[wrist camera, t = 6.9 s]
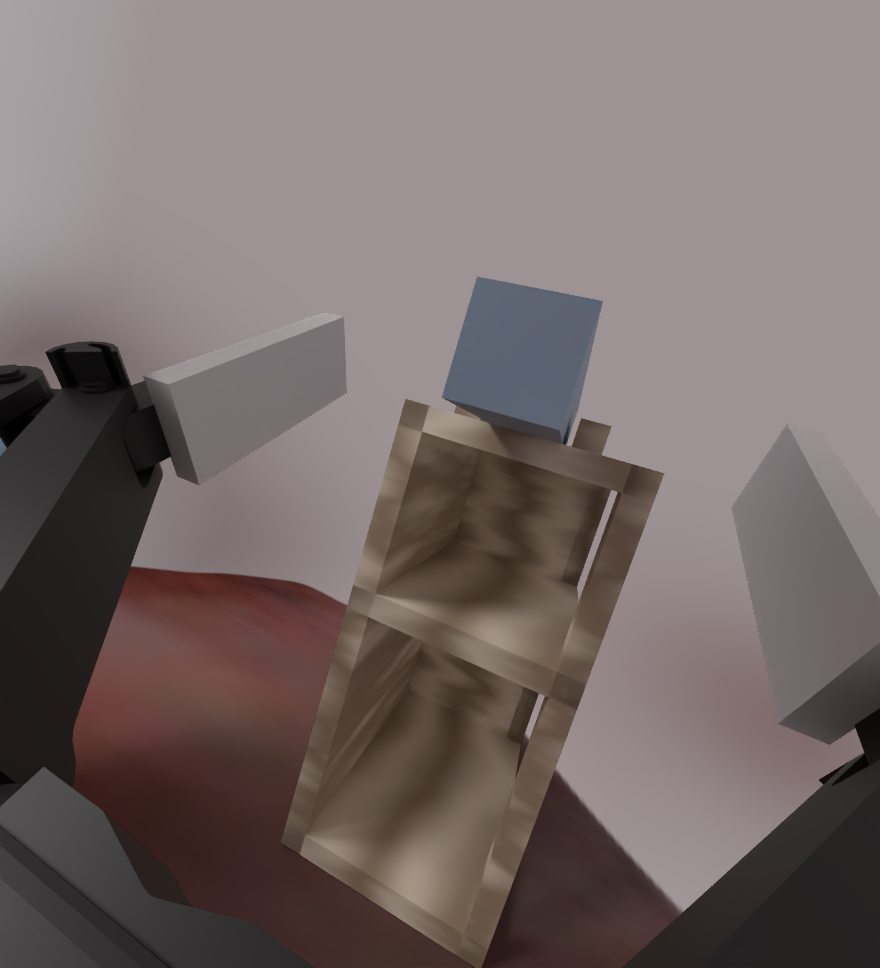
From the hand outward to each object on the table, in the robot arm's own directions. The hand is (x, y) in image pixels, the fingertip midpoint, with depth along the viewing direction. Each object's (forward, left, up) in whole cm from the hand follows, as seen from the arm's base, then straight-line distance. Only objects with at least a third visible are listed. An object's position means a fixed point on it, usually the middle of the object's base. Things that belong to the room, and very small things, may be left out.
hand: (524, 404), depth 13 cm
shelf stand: (-1, +19, -30) cm, 36 cm away
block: (-1, +13, 0) cm, 13 cm away
